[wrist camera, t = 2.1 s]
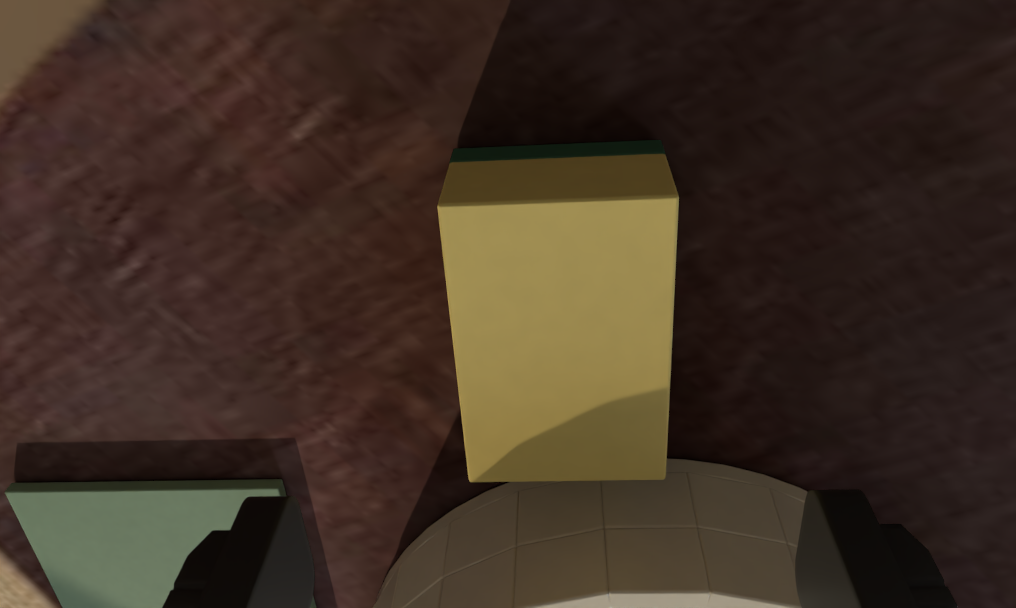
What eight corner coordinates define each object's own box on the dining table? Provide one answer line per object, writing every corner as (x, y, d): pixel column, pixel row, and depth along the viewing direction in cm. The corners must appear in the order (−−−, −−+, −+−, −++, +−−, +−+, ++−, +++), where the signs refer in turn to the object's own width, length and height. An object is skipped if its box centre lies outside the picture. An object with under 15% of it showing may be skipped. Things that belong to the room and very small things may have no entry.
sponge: (452, 147, 18) (436, 204, 16) (661, 139, 18) (679, 194, 15) (478, 403, 22) (468, 483, 19) (652, 399, 21) (666, 480, 19)
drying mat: (11, 482, 24) (3, 491, 24) (282, 478, 23) (278, 488, 23) (116, 696, 29) (111, 706, 29) (340, 696, 28) (338, 707, 28)
